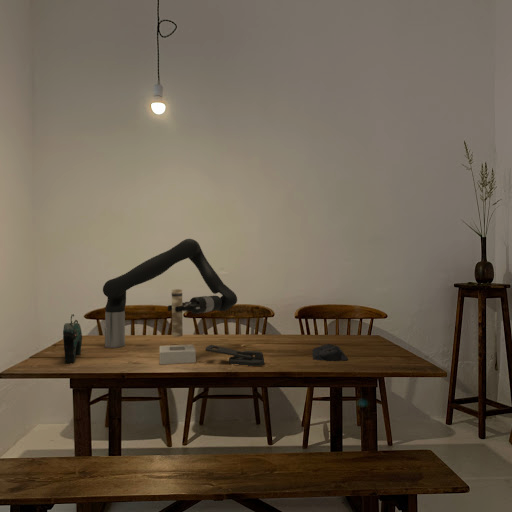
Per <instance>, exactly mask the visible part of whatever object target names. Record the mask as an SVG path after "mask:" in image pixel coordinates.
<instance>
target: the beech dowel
mask: <svg viewBox="0 0 512 512" xmlns="http://www.w3.org/2000/svg"><path fill="white" fill-rule="evenodd" d="M182 303H183V289H180V288H179V289H178V288H174V289H171V305H172V311H171V335H172V337H177V338H178V337H183V332H184V331H183V330H184V329H183V328H184V327H183V326H184V325H183V311H180V312H176V311H175V307H177V306H182Z"/></svg>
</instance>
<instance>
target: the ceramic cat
mask: <svg viewBox="0 0 512 512" xmlns="http://www.w3.org/2000/svg"><path fill="white" fill-rule="evenodd" d="M74 317H75V314H71V316H70V322H67V323H64V324H63V330H62V331H63V332H62V336H63V337H62V340H63V350H64V363H65V364H67V365H68V364H69V365H70V363H72V364H75V362H76V355H78V356H81V354H82V350H81V349H82V342H83V332H82V328H81V327H82V326H81V325H80V323H79V322H78V320H77V319H75V320H74V321H72V318H74Z"/></svg>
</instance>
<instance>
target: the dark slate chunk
mask: <svg viewBox="0 0 512 512" xmlns="http://www.w3.org/2000/svg"><path fill="white" fill-rule="evenodd" d="M311 354H312V360H314V361H315V360H316V361H327V362H338V361H341V362H343V361H348V356H347V355H346V354H345V353H344V351H343V349H341V347H340V346H338V345H334V344H331V343H327V344H323V345H321V346H317V347H314V348H313V349H312V353H311Z"/></svg>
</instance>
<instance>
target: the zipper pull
mask: <svg viewBox="0 0 512 512" xmlns="http://www.w3.org/2000/svg"><path fill="white" fill-rule="evenodd" d="M205 351H206V352H210V353H214V354H215V353H216V354H221V355H228V356H230V357H229V358H228V364H229V363H230V364H239V365H248V366H247V367H250V366H260V367H262V366H263V364H265V357H264V353H263V352H261V351H259V350H258V351H257V350H243V351H241V350H237V349H232V348H227V347H224V346H223V347H222V346H219V345H214V344H210V345H207V346H206V347H205ZM230 364H229V365H230ZM239 365H238V366H239ZM261 365H262V366H261Z"/></svg>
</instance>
